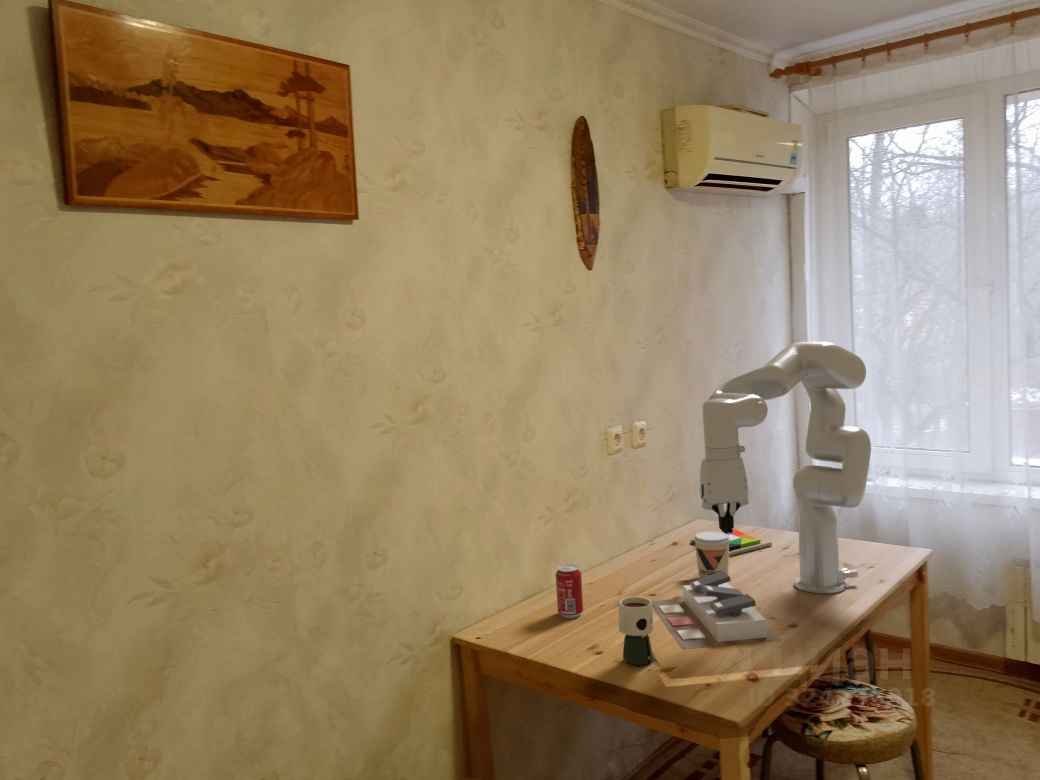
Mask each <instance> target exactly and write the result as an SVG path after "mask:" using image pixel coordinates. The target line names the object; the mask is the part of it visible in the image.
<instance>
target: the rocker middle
mask: <svg viewBox="0 0 1040 780" xmlns="http://www.w3.org/2000/svg"><path fill="white" fill-rule="evenodd" d="M701 591H702V592H703V593H704V594H705V595H706V596H712V597H716V598H717V599H718V600H719V601H721V600H725V599H729V598H733V597H737V596H741V595H745V594H744V593H743V592H742V591H740V589H739V588H734V587H732V588H725V587H716V586H708V585H701Z"/></svg>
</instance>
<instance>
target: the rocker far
mask: <svg viewBox="0 0 1040 780" xmlns="http://www.w3.org/2000/svg"><path fill="white" fill-rule="evenodd" d="M726 582H727V583H728V582H732V580H731V576H730V575H729V574H728V575H727V574H726V573H725V572H724V571H721V572H719V573H716V574H713V575H710V576H707V577H704V578H701V579H699V578H698V579H695V580H692V581H689V585H690V587H691V588H692V589H693V590H694V591H695V592H696V593H697V592H700V591H701V585H708V586H716V587H718V585H721V584H724V583H726Z"/></svg>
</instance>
